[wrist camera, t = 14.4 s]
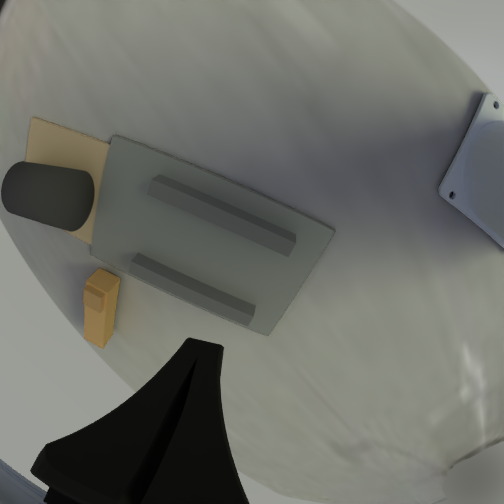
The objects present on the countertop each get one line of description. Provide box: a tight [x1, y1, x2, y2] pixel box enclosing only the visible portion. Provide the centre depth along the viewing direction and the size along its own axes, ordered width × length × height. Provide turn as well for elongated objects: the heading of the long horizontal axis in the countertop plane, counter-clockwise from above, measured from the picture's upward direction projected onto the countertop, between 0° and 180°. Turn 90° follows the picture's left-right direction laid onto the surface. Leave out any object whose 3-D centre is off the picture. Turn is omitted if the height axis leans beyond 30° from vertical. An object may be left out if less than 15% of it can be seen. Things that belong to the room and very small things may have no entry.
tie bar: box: [83, 268, 120, 349], centre depth 22 cm, size 2×7×3 cm, turn 157°
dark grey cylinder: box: [1, 161, 95, 232], centre depth 17 cm, size 7×4×4 cm, turn 78°
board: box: [25, 117, 335, 336], centre depth 18 cm, size 24×10×2 cm, turn 67°
